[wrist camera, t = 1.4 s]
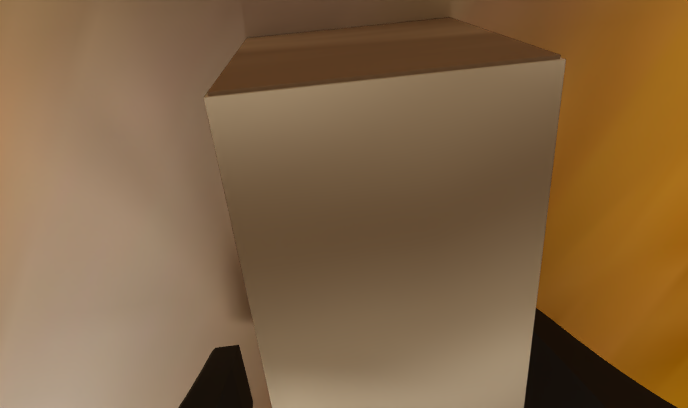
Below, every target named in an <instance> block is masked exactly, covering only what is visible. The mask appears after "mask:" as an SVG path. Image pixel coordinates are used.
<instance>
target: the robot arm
mask: <svg viewBox="0 0 688 408" xmlns="http://www.w3.org/2000/svg"><path fill="white" fill-rule="evenodd" d="M179 408H253V400H252V396H251V391H250V387H249V383H248V379H247V375H246V371H245V367H244V363H243V359H242V355H241V351H240V347H239V345H234V346H227V347H219V348H215V349H214V350H213V351H212V353H211V354H210V356H209V358H208V360H207V361H206V363H205V365H204V367H203V369H202V370H201V372H200V374H199V375H198V377H197V379H196V381H195V382H194V384H193V386H192V387H191V389H190V390H189V392H188V394H187V395H186V397H185V398H184V400H183V402H182V403H181V405H180V406H179ZM524 408H677V407H676V406H674V405H672V404H670V403H669V402H667V401H665V400H664V399H662V398H660V397H659V396H657V395H656V394H654V393H652V392H651V391H649V390H648V389H646V388H645V387H643V386H642V385H640V384H639V383H637V382H636V381H634V380H633V379H631V378H630V377H628V376H627V375H625V374H624V373H622V372H621V371H619V370H618V369H616V368H615V367H614V366H612V365H611V364H609V363H608V362H607V361H605V360H604V359H602V358H601V357H600V356H598V355H597V354H596V353H594V352H593V351H592V350H590V349H589V348H588V347H586V346H585V345H584V344H582V343H581V342H580V341H578V340H577V339H576V338H574V337H573V336H572V335H571V334H569V333H568V332H567V331H565V330H564V329H563V328H562V327H560V326H559V325H558V324H556V323H555V322H554V321H553V320H551V319H550V318H549V317H547V316H546V315H545V314H544V313H542V312H541V311H540V310H538V309H537V308H536V310H535V319H534V327H533V335H532V343H531V352H530V360H529V368H528V377H527V385H526V393H525V401H524Z"/></svg>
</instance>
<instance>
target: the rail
mask: <svg viewBox="0 0 688 408" xmlns="http://www.w3.org/2000/svg"><path fill="white" fill-rule="evenodd" d="M565 62H566V59H563V58H560V55H559V54H556V53H553V52H550V51H547V50H544V49H541V48H538V47H535V46H533V45H530V44H527V43H524V42H521V41H518V40H515V39H512V38H509V37H506V36H503V35H500V34H497V33H494V32H491V31H489V30H486V29H483V28H480V27H477V26H474V25H471V24H468V23H465V22H462V21H459V20H456V19H453V18H450V17H449V18H439V19H429V20H419V21H410V22H400V23H390V24H380V25H370V26H360V27H351V28H341V29H331V30H321V31H311V32H302V33H292V34H282V35H272V36H262V37H252V38H247V39H246V40H245V41H244V43H243V44H242V45H241V47H240V48H239V50H238V51H237V52H236V54H235V55H234V56H233V58H232V59H231V61H230V62H229V63H228V65H227V66H226V67H225V69H224V70H223V72H222V73H221V74H220V76H219V77H218V78H217V80H216V81H215V83H214V84H213V85H212V87H211V88H210V89H209V91H208V92H207V94H206V95H205V96H204V102H205V107H206V111H207V116H208V120H209V125H210V130H211V134H212V139H213V143H214V148H215V152H216V157H217V161H218V166H219V170H220V175H221V179H222V184H223V188H224V193H225V197H226V202H227V206H228V211H229V215H230V220H231V224H232V229H233V233H234V238H235V242H236V247H237V251H238V256H239V260H240V265H241V269H242V274H243V279H244V283H245V288H246V292H247V297H248V301H249V306H250V310H251V315H252V319H253V324H254V328H255V333H256V337H257V342H258V346H259V351H260V355H261V360H262V364H263V369H264V373H265V378H266V382H267V387H268V391H269V396H270V400H271V405H272V408H524V401H525V393H526V385H527V377H528V368H529V360H530V352H531V343H532V335H533V327H534V319H535V310H536V302H537V294H538V286H539V277H540V269H541V261H542V253H543V244H544V236H545V228H546V219H547V211H548V203H549V195H550V186H551V178H552V170H553V162H554V153H555V145H556V137H557V129H558V120H559V112H560V104H561V95H562V87H563V79H564V71H565Z"/></svg>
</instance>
